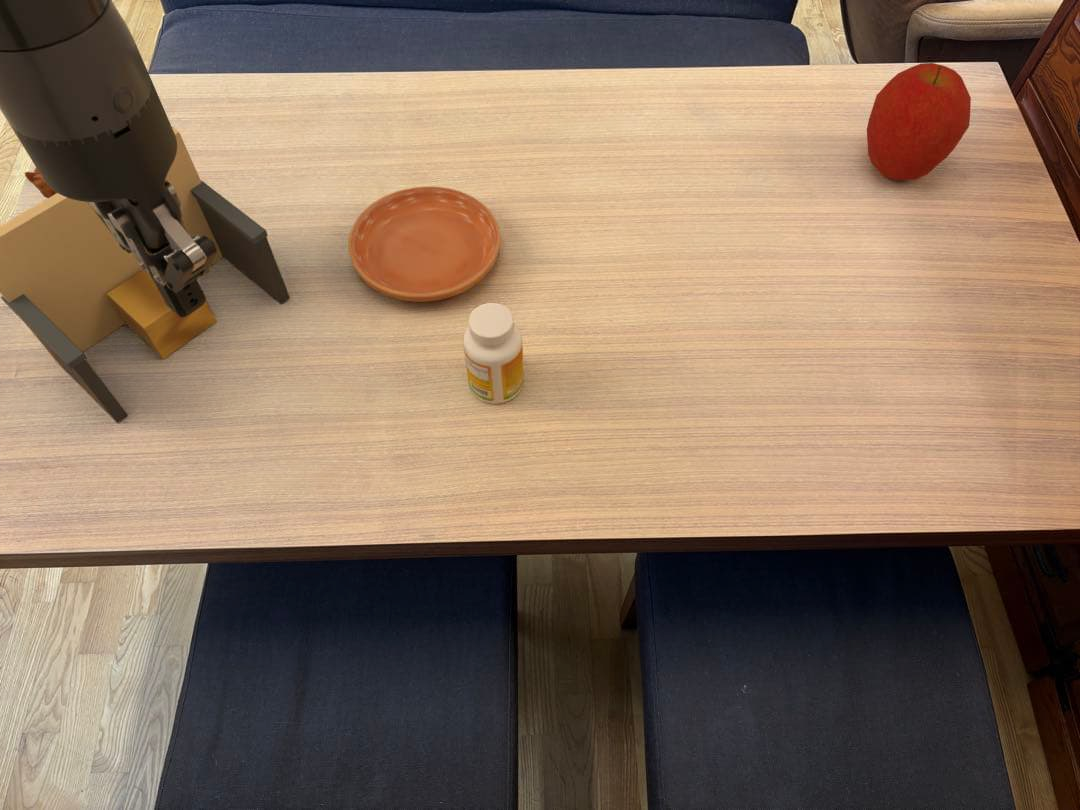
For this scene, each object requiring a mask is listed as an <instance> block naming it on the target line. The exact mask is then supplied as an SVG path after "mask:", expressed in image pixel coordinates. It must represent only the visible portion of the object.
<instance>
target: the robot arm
mask: <svg viewBox="0 0 1080 810" xmlns="http://www.w3.org/2000/svg"><path fill="white" fill-rule="evenodd" d="M0 112H1V113H2V114H3V116H4V118H5V120H6V122H7V123H8V124H9V126H10V127H11V129H12V131H13V133H14V134H15V135H16V138H17V139H18V140H19V142H20V143H21V145H22V148H23V149H24V150H25V151H26V153H27V155H28V157H29V158H30V160H31V161H32V163H33V164H34V167H35V168H37V169H38V171H39V173H40V174H41V176H42V177H43V179H44V181H45V182H46V183H47V185H48V186H49V187H50V188H51V189H53V190H54V191H55V192H57V193H58V194H60V195H62V196H64V197H67V198H70V199H73V200H78V201H84V202H88V204H89V205H90V206H91V208H92V209H93V210H94V211H95V213H96V214H97V215H98V217H99V218H100V219H101V220H102V222H103V223H104V224H105V226H106V227H107V228H108V229H109V231H110V232H111V233H112V235H113V236H114V238H115V240H116V241H117V242H118V243H119V245H120V247H121V248H122V249H123V250H125V251H126V252H128V253H129V254H130V253H131V252H132V253H133V255H134V256H135V258H136V259H137V261H138V263H139V264H138V265H139V266H140V268H141V269H142V270H145V271H146V272H147V273H149V274H150V275H151V277H152V279H153V281H154V283H155V285H156V286H157V288H158V290H159V292H160V294H161V295H162V297H163V299H164V301H165V303H166V304H167V306H168V307H169V308H171V309H172V310H173V311H174V312H175V313H176V314H178V315H179V316H180V317H186V316H188V315H190V314H191V313H192V312H194V311H195V310H197V309H198V308H200V307H201V306H203V305H204V303H205V301H206V302H207V298H206V295H205V293H204V291H203V289H202V287H201V285H200V283H199V281H198V279H199V278H200V277H203V276H205V275H206V274H208V272H209V271H210V268H211V266H212V265H211V264H212V262H213V260H214V258H215V256H216V254H217V249H216V247H215V244H214V243H213V241H212V240H211V239H209V238H208V237H206V236H202V237H201V238H200V236H199V235H195V236H193V237H192V238H191V235H190V233H189V230H188V228H187V226H186V223H185V221H184V219H183V216H182V213H181V209H180V207H181V202H180V199H179V197H178V195H177V192H176V190H175V189H174V187H173V186H172V185H171V184H170V183H169V182H168V181H167V180H165V179H166V176H167V174H168V171H169V169H170V167H171V165H172V164H173V162H174V159H175V156H176V153H177V139H176V136H175V133H174V131H173V129H172V127H173V126H172V124H171V122H170V119H169V117H168V114H167V113H166V110H165V108H164V105H163V103H162V101H161V98H160V96H159V94H158V92H157V89H156V86H155V85H154V82H153V80H152V77H151V75H150V73H149V71H148V69H147V66H146V64H145V62H144V59H143V57H142V54H141V52H140V50H139V48H138V46H137V44H136V41H135V39H134V37H133V34H132V33H131V31H130V28H129V27H128V25H127V23H126V21H125V20H124V18H123V17H122V15H121V13H120V11H119V10H118V9H117V7H116V5H115V4H114V1H113V0H0Z"/></svg>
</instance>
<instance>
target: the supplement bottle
mask: <svg viewBox="0 0 1080 810" xmlns="http://www.w3.org/2000/svg"><path fill="white" fill-rule="evenodd" d="M462 340H463V341H462V346H463V352H464V359H465V367H466V375H467V382H468V386H469V389H470V391H471V393H472V394H473V395H474V396H475V397H476V398H477V399H478V400H480V401H482V402H484V403H487V404H494V405H498V404H503V403H506V402H509V401H511V400H513V399H514V398H515V397H516V396H518V395H519V393H520V392H521V390H522V388H523V385H524V377H525V376H524V352H523V351H524V349H523V346H524V345H523V336H522V333H521V331H520V328H519V327H518V326H517V324H516V323H515V321H514V316H513V312H511V310H510V309H509V308H508V307H507V306H505V305H504V304H501V303H497V302H487V303H483V304H481V305H478V306H477V307H475V308H474V309H472V311H471V312H470V314H469V317H468V326H467V328H466V329H465V331H464V335H463V339H462Z"/></svg>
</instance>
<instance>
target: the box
mask: <svg viewBox="0 0 1080 810" xmlns="http://www.w3.org/2000/svg"><path fill="white" fill-rule="evenodd" d="M107 296H108V297H109V299H110V300H111V302H112V303H113V305H114V306H115V308H116V309H117V311H118V312H119V314H120V315H121V317H122V318H123V320H124V321H125V325H126V326H127V327H128V328H129V329H130V330H131V331H132V332H134V333H135V334H136V335H137V337H139V338H140V339H141V340H142V341H143V342H144V343H145V344H146V345H147V346H148V347H149V348H150V349H152V350H153V351H154V352H155V353H156V354H157V356H159V357H160V358H161V359H163V360H164V359H166V358H168V357H169V356H170V355H172V354H173V353H174V352H176V351H177V350H179V349H180V348H181V347H184V345H186V344H187V343H189V342H190V341H191V340H193V339H194V338H196V337H197V336H199V335H200V334H202V333H203V332H204V331H206V330H208V328H210V327H212V326H213V325H214V324H216V323H217V319H216V317H215V315H214V313H213V311H212V309H211V307H210V306H209V303H208V301H207V300H206V301H205V303H204V305H203V306H201V307H200V308H198V309H197V310H195V311H194V312H192V313H191V314H190V315H188V316H186V317H180V316H179V315H178V314H176V313H175V312H174V311H173V310H172V309H171V308H169V307H168V306H167V304H166V303H165V301H164V299H163V297H162V295H161V294H160V292H159V290H158V288H157V286H156V285H155V283H154V281H153V279H152V277H151V275H150V274H149V273H147V272H146V271H145V270H142V271H140V272H139V273H137V274H136V275H134V276H133V277H131V278H130V279H128V280H126V281H125V282H123V283H122V284H120V285H119V286H117V287H116V288H114V289H113V290H111V291H110V292H108V293H107Z"/></svg>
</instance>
